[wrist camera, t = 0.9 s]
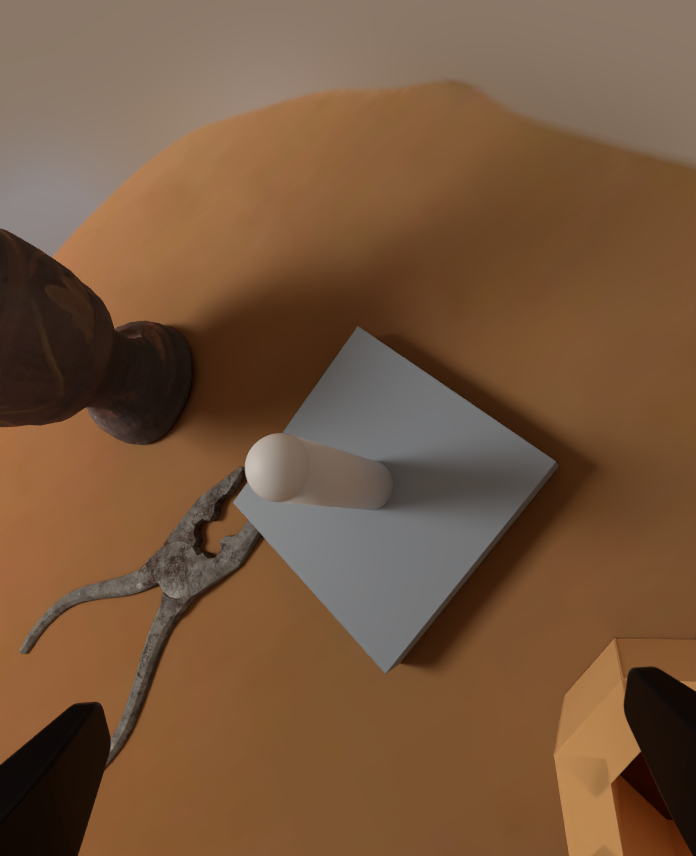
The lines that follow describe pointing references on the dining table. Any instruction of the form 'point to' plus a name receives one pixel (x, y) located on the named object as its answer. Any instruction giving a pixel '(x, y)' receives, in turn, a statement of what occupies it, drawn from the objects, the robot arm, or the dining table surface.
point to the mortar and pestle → (81, 354)
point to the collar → (613, 755)
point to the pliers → (166, 587)
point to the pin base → (426, 505)
